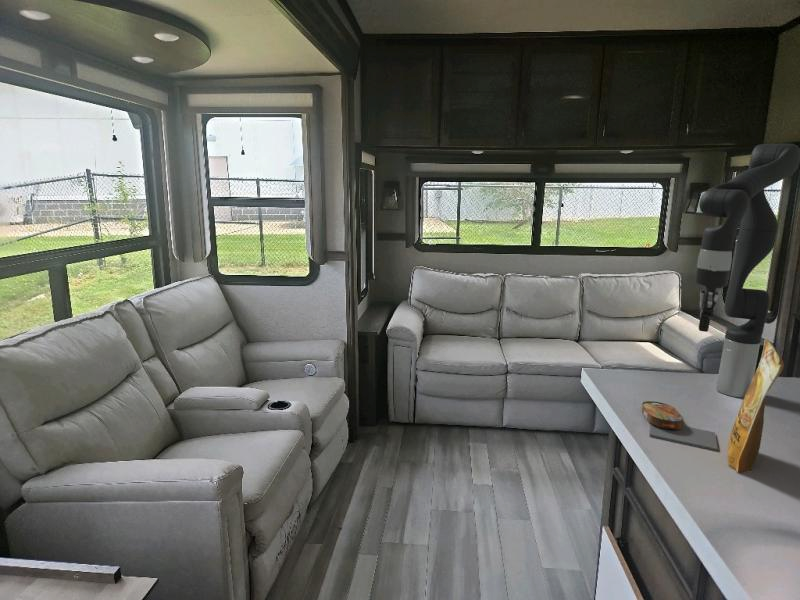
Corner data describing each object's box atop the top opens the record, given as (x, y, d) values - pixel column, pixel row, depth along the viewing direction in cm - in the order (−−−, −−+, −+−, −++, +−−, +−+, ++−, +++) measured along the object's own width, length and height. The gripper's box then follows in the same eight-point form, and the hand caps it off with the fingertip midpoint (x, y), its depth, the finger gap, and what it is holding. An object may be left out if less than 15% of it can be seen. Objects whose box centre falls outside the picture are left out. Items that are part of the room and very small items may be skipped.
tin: (688, 422, 132) (653, 416, 134) (685, 434, 133) (650, 427, 134) (671, 403, 147) (639, 397, 148) (668, 413, 147) (637, 407, 149)
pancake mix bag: (760, 447, 128) (781, 339, 121) (760, 482, 112) (785, 360, 106) (728, 439, 131) (747, 334, 125) (724, 472, 116) (746, 353, 110)
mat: (650, 421, 140) (650, 419, 140) (714, 434, 134) (714, 432, 134) (649, 436, 132) (649, 434, 132) (717, 451, 125) (717, 449, 125)
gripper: (695, 262, 142) (686, 323, 146) (698, 269, 131) (688, 334, 134) (727, 265, 139) (717, 327, 143) (733, 271, 127) (721, 339, 131)
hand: (703, 330), depth 139 cm, fingers closed
